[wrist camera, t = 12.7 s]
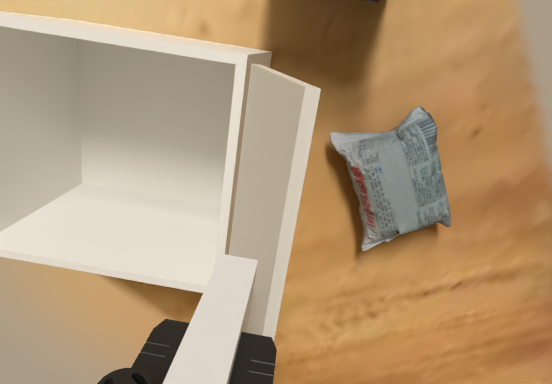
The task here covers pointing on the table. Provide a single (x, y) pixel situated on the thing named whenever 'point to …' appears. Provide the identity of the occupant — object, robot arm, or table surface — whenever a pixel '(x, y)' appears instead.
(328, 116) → the table surface
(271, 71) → the flap
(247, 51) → the carton
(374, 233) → the packaged food
